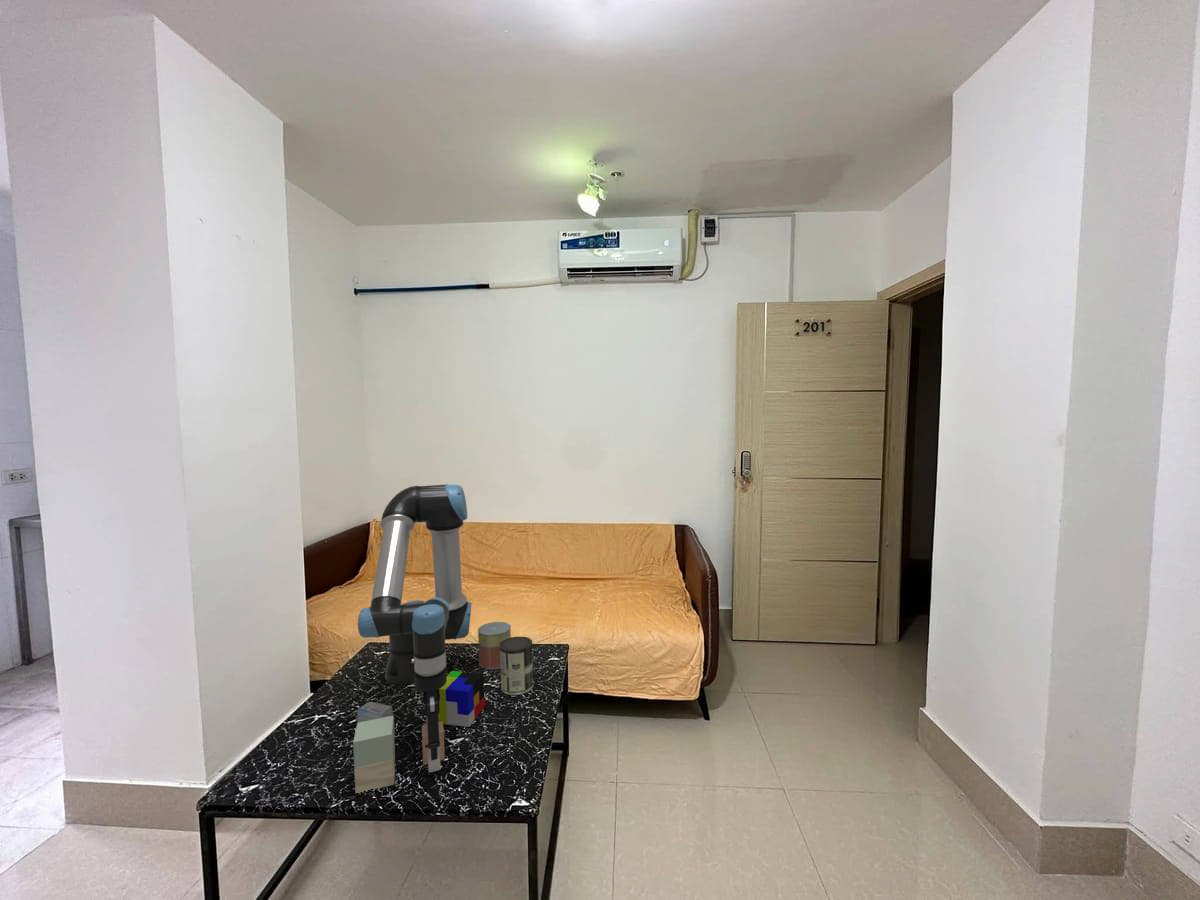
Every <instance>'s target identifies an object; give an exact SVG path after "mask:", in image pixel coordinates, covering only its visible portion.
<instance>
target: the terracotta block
mask: <svg viewBox="0 0 1200 900" xmlns="http://www.w3.org/2000/svg"><path fill="white" fill-rule="evenodd" d="M438 724H439V741H440V762H441V761H444V760H446V759H445V731H444V724H443V721H441V722H438ZM421 737H422V739H421V741H422V743H421V744H422V762H423V763H422V765H423V766H425V765H428V748H425V745H428V724H427V723H426V724H423V725H421Z"/></svg>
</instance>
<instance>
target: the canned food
mask: <svg viewBox="0 0 1200 900" xmlns="http://www.w3.org/2000/svg"><path fill="white" fill-rule="evenodd" d="M511 628H512V627H511V624H509V622H505V621H492V622H488V623H485V624H482V625H480V626H479V627H478V628H477V633H478V635H477V636H478V638H477V639H478V664H479V667H480V666H481V667H480V668H482V669H484V668H486V670H498V668H499V669H501V665H500V648H499V644H500V643H501V642H502V641H503V640H505V639H507V638H511V637H512V636H511Z"/></svg>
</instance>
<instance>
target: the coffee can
mask: <svg viewBox="0 0 1200 900" xmlns="http://www.w3.org/2000/svg"><path fill="white" fill-rule="evenodd" d="M499 648H500V665H501V668H500V682H501V683H500V684H501V685H500V690H501V692H502V693H504V694H506V695H509V696H510V695H511V696H517V695H523V694H526V693H528V692H530V691H531V690H532V689H533V688H534V685H535V684H534V669H533V666H534V664H533V640H532V639H531V638H529V637H527V636H511V638H507V639H505V640H503V641H502V642H501V643H500V644H499Z"/></svg>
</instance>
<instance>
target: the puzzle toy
mask: <svg viewBox="0 0 1200 900" xmlns="http://www.w3.org/2000/svg"><path fill="white" fill-rule="evenodd" d="M439 693H440V701H439V707H440V711H439V712H440V713H439V714H438V722H441V721H443V725H447V726H449V725H450V726H456V727H457V726H458V727H459V726H460V727H466V728H468V727H470V726H471V725H472V724H473V722H475V720H476V719H477V718H478V716H479V715H480V713H481V712H482V711H483V709H484V708H485V707H486V705H485V702H486V701H485V673H480V672H472V671H471V672H469V671H467V672H466V671H459V670H458V671H456V670H452V671H451V672H450V673H448V675H447V681H446V684H445V685H444V686H443V687H441V688H439Z"/></svg>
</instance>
